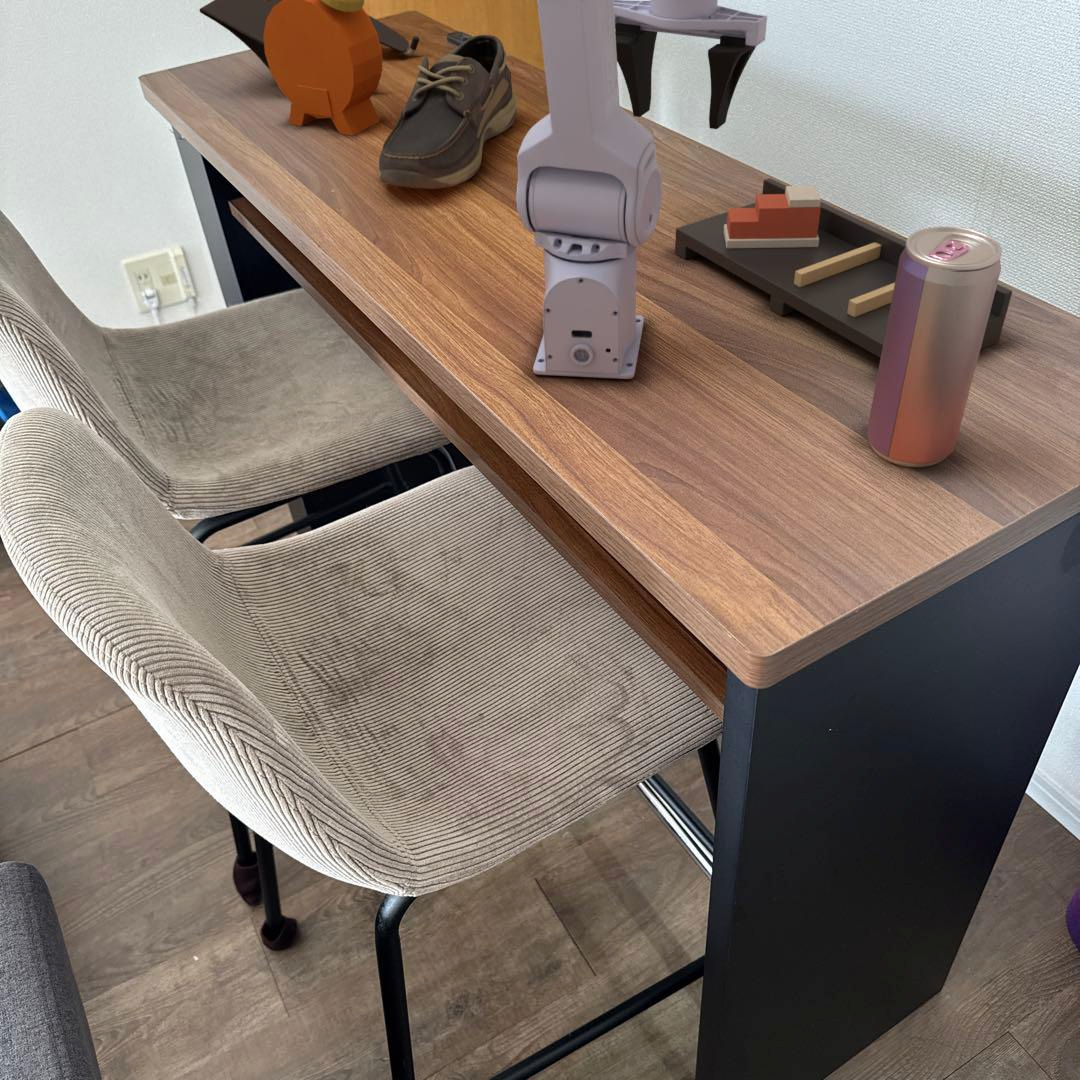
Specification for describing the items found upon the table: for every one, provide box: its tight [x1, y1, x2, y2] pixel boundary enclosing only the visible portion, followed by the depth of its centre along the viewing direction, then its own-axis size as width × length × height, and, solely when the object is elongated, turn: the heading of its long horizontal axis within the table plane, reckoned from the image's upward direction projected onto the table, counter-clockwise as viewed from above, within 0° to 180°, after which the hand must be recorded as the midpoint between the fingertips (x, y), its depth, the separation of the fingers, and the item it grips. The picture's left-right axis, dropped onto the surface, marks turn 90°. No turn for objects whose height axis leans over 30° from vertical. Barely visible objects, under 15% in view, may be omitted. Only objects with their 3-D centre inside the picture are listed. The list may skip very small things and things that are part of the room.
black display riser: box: [674, 178, 1013, 359], centre depth 90 cm, size 28×11×4 cm, turn 32°
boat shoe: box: [377, 34, 518, 189], centre depth 117 cm, size 11×29×11 cm, turn 166°
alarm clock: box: [263, 0, 383, 136], centre depth 123 cm, size 13×6×20 cm, turn 59°
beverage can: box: [866, 225, 1003, 468], centre depth 70 cm, size 6×6×15 cm
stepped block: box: [724, 185, 822, 249], centre depth 93 cm, size 8×3×4 cm, turn 87°
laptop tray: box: [198, 0, 420, 93], centre depth 143 cm, size 23×23×9 cm
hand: (678, 119), depth 97 cm, fingers open, 7 cm apart
